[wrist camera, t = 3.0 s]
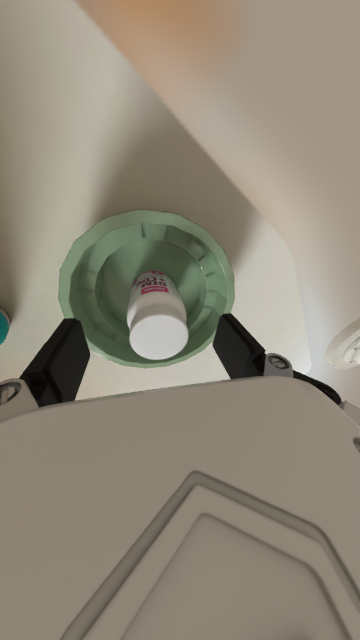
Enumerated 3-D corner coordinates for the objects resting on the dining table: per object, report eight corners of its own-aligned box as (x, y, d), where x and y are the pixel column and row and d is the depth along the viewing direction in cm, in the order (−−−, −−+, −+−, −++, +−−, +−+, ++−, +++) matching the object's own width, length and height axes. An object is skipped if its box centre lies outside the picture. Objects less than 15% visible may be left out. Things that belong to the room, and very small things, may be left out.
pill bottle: (159, 259, 16) (173, 293, 9) (182, 296, 18) (205, 343, 12) (121, 284, 16) (106, 334, 9) (148, 316, 19) (151, 373, 12)
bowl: (227, 221, 15) (257, 222, 11) (202, 336, 23) (215, 361, 19) (60, 202, 12) (20, 195, 8) (96, 342, 20) (84, 374, 16)
